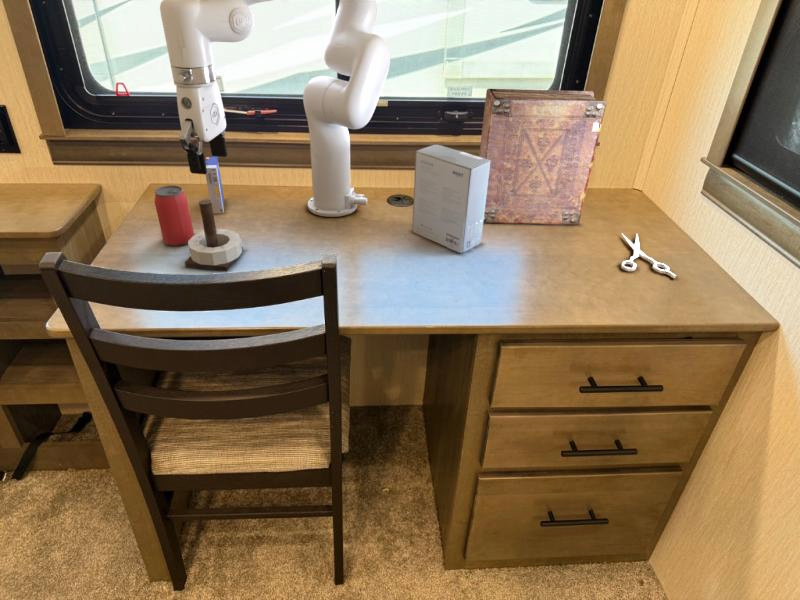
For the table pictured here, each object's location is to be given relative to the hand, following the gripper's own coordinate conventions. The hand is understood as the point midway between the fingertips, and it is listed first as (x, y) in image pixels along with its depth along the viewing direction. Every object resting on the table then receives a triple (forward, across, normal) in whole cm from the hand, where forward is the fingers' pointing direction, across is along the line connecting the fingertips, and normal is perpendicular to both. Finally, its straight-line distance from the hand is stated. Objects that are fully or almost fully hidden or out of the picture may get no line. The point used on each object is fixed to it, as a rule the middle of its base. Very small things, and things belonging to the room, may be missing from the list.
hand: (209, 164), depth 112 cm
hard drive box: (+20, +16, -48) cm, 54 cm away
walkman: (+20, +21, +10) cm, 30 cm away
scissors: (+20, +17, -92) cm, 95 cm away
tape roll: (+18, -4, 0) cm, 19 cm away
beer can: (+20, +2, +11) cm, 23 cm away
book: (+20, +32, -67) cm, 77 cm away
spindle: (+20, -4, 0) cm, 20 cm away
